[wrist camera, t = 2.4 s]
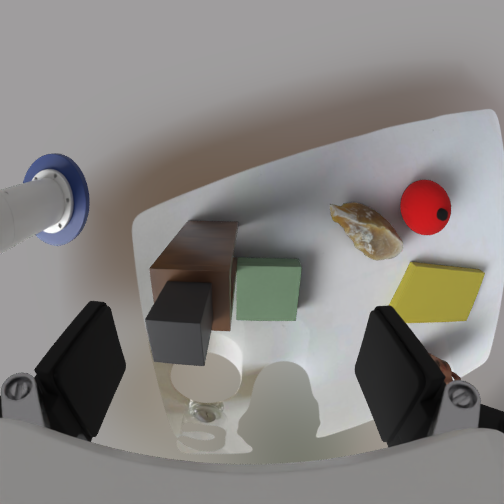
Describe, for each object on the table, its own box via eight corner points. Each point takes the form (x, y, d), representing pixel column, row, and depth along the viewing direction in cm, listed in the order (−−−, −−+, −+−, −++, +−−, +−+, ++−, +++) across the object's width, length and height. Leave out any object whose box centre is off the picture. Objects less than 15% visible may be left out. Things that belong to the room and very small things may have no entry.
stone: (401, 271, 41) (330, 227, 37) (379, 264, 47) (312, 225, 44) (417, 231, 40) (350, 182, 37) (394, 228, 47) (330, 185, 43)
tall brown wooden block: (189, 261, 47) (157, 326, 29) (188, 220, 45) (149, 268, 27) (237, 262, 47) (230, 331, 29) (238, 221, 45) (229, 271, 27)
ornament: (389, 227, 45) (418, 246, 36) (391, 175, 42) (423, 184, 33) (429, 225, 45) (461, 243, 36) (432, 177, 42) (467, 186, 32)
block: (171, 318, 29) (153, 361, 22) (166, 280, 27) (144, 319, 21) (213, 321, 29) (204, 366, 22) (211, 282, 27) (200, 323, 21)
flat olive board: (479, 269, 48) (400, 260, 47) (484, 273, 46) (405, 265, 45) (461, 316, 52) (382, 317, 51) (466, 320, 50) (386, 323, 49)
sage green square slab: (237, 309, 50) (236, 320, 47) (237, 257, 47) (236, 265, 44) (293, 310, 50) (295, 320, 47) (298, 258, 47) (301, 266, 44)
